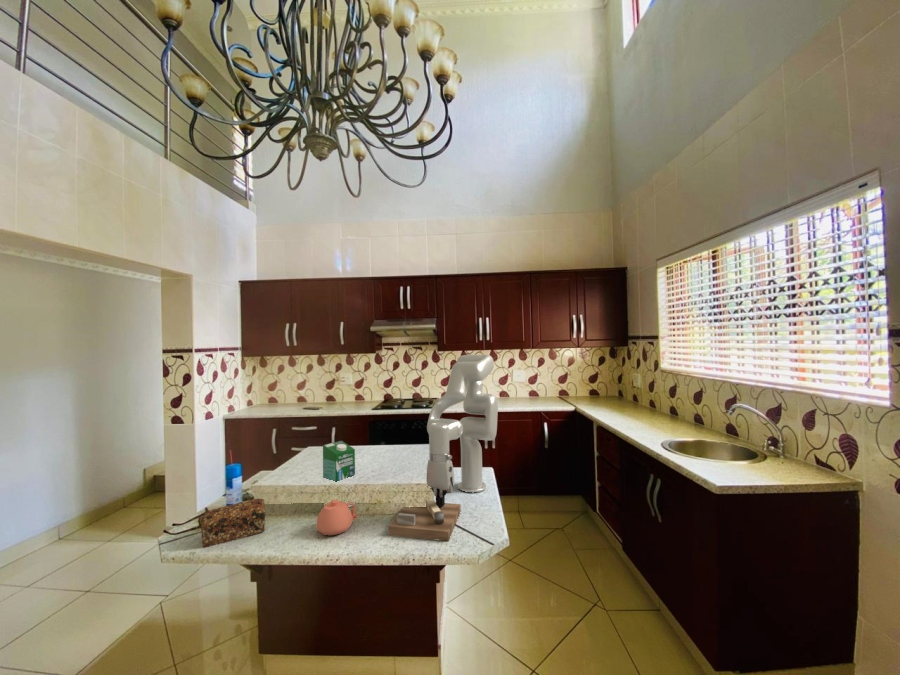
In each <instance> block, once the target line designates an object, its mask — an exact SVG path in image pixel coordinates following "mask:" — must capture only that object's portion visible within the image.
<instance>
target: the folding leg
mask: <svg viewBox="0 0 900 675" xmlns="http://www.w3.org/2000/svg"><path fill="white" fill-rule="evenodd" d="M435 502H436V501H434V499H433V500H426V507H427V508H428V510H429V512H430V513H431V515H432V517H433V518H434V520H435V523H436V524H442V523H444V513H443V512H441V511H440V509H439V508H438V506H437V505H436V503H435Z"/></svg>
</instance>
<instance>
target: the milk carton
mask: <svg viewBox="0 0 900 675" xmlns="http://www.w3.org/2000/svg"><path fill="white" fill-rule="evenodd" d="M354 475H355V476H356V451H355V448H354V447H352V446H351V445H349V444H348V443H346V442H344V441H343V440H338V441H334V442H331V443H330V442H329V443H327V444H324V445H323V444H322V479H323V478H326V479H329V480H333V481H335V482H337V481H340V480H343V479H346V478H348V477H352V476H354Z"/></svg>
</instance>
